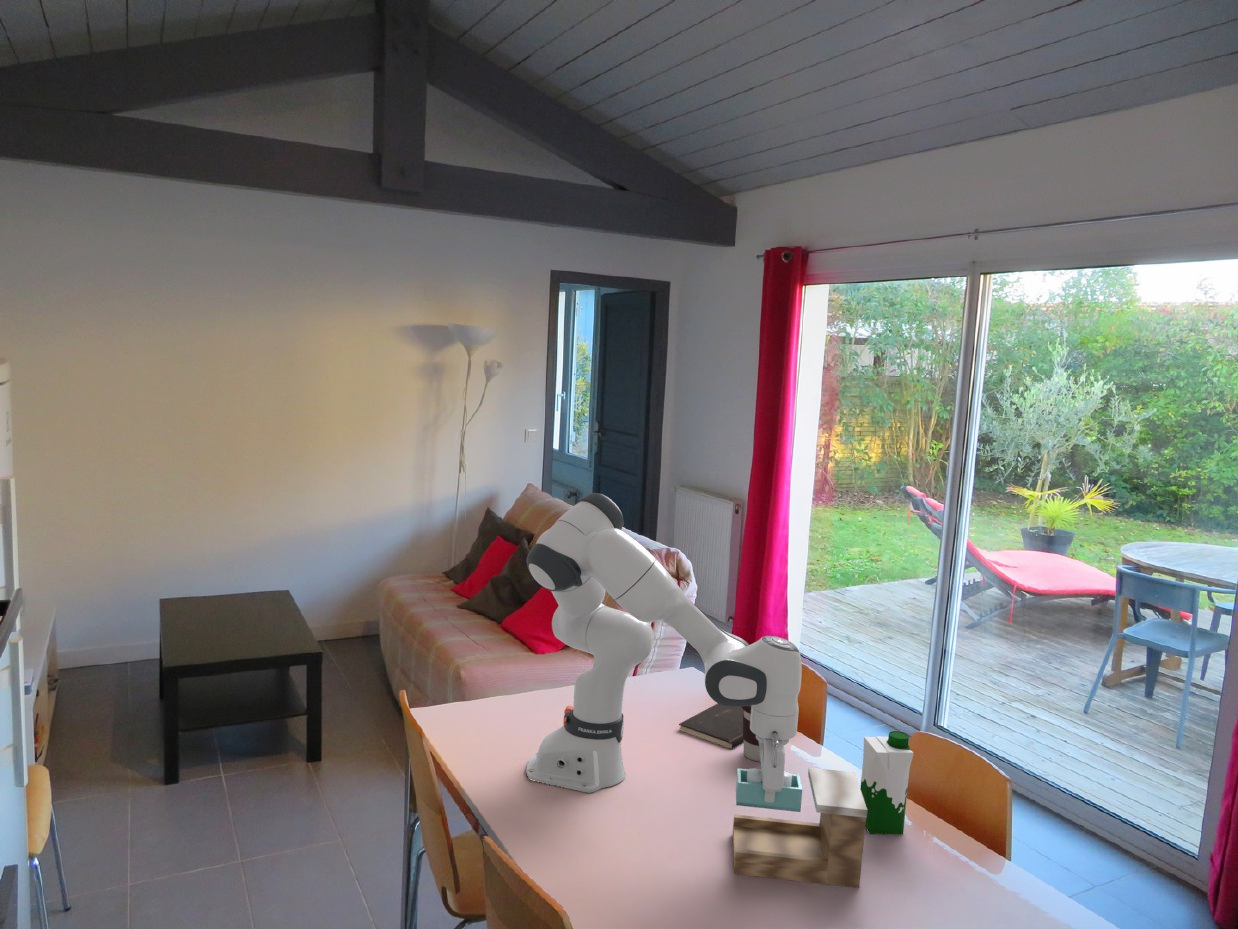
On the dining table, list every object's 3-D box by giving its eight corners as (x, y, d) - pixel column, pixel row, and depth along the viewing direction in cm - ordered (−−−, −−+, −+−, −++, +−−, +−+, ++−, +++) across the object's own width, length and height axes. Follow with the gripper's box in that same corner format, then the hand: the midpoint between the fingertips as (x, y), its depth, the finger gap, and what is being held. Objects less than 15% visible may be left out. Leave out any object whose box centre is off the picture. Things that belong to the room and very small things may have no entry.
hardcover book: (678, 732, 230) (678, 723, 230) (724, 707, 249) (724, 699, 248) (732, 751, 221) (732, 743, 221) (775, 724, 239) (776, 716, 239)
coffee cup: (778, 767, 212) (783, 707, 210) (736, 761, 214) (741, 701, 212) (779, 750, 222) (784, 692, 220) (739, 744, 224) (743, 686, 222)
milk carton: (909, 837, 184) (918, 744, 182) (866, 836, 183) (875, 743, 181) (892, 815, 193) (901, 726, 190) (851, 814, 192) (860, 725, 190)
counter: (734, 875, 167) (740, 796, 165) (732, 833, 182) (738, 760, 180) (859, 889, 165) (867, 810, 163) (847, 845, 179) (854, 772, 178)
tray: (797, 796, 174) (800, 769, 173) (800, 812, 168) (802, 784, 168) (735, 790, 176) (737, 763, 175) (736, 805, 170) (738, 777, 169)
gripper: (794, 747, 159) (788, 820, 161) (787, 703, 180) (781, 769, 181) (758, 743, 160) (753, 816, 162) (755, 700, 180) (750, 766, 182)
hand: (768, 791), depth 172 cm, fingers closed on tray, 6 cm apart
